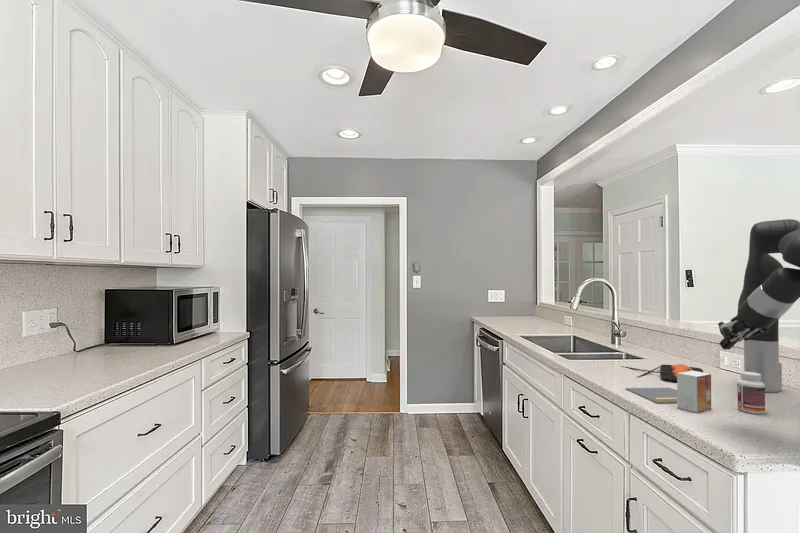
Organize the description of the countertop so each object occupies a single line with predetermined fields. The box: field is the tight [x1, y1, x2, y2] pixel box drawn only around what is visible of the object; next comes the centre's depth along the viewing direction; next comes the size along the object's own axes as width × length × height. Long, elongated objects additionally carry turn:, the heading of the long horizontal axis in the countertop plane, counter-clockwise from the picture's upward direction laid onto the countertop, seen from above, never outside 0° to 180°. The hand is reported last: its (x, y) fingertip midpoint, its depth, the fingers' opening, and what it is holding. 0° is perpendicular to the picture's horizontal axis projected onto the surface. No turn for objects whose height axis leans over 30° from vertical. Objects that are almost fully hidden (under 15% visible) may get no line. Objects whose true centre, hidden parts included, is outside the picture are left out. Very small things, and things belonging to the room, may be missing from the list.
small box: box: [676, 370, 712, 414], centre depth 123 cm, size 8×6×10 cm
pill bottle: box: [736, 371, 766, 415], centre depth 121 cm, size 6×6×11 cm
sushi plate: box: [620, 363, 705, 383], centre depth 167 cm, size 29×30×4 cm
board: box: [625, 387, 677, 405], centre depth 136 cm, size 16×16×1 cm
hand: (723, 346), depth 113 cm, fingers closed
